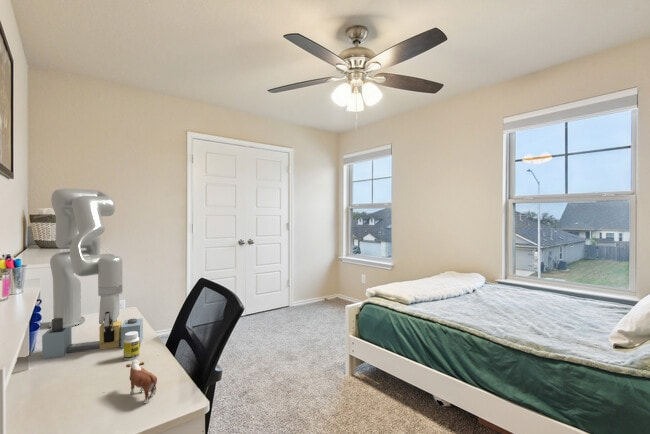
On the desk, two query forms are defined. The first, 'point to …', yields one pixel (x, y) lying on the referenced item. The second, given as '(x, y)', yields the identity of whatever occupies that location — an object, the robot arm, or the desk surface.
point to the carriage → (116, 336)
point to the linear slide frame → (59, 341)
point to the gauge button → (57, 324)
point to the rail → (85, 346)
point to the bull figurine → (142, 379)
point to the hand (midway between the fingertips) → (110, 338)
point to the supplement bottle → (131, 345)
